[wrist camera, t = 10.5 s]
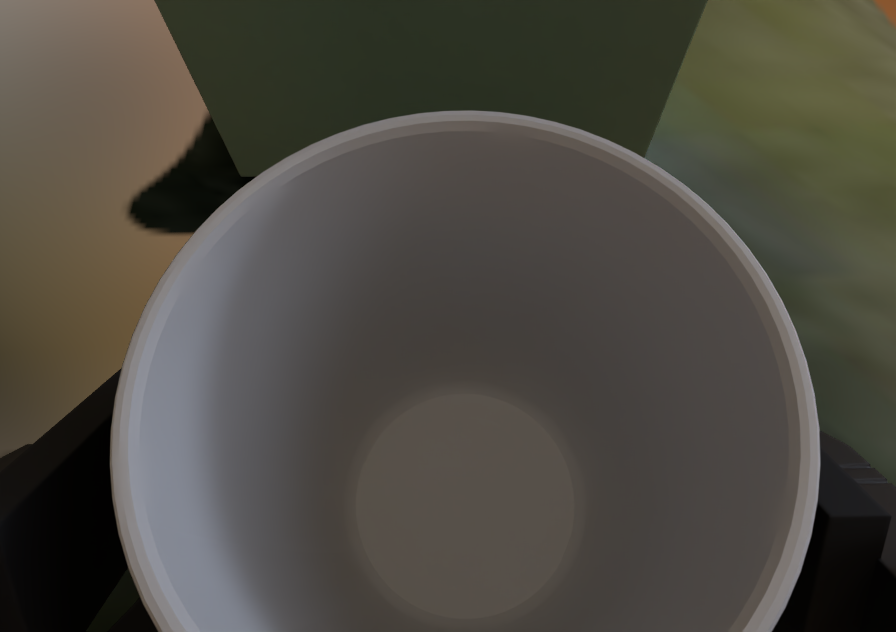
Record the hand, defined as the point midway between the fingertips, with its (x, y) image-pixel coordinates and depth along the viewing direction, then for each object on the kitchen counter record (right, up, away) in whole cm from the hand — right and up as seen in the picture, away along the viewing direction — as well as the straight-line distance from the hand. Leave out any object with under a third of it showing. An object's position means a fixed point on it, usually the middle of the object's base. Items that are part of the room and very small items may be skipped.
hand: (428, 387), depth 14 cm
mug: (0, -4, +3) cm, 5 cm away
